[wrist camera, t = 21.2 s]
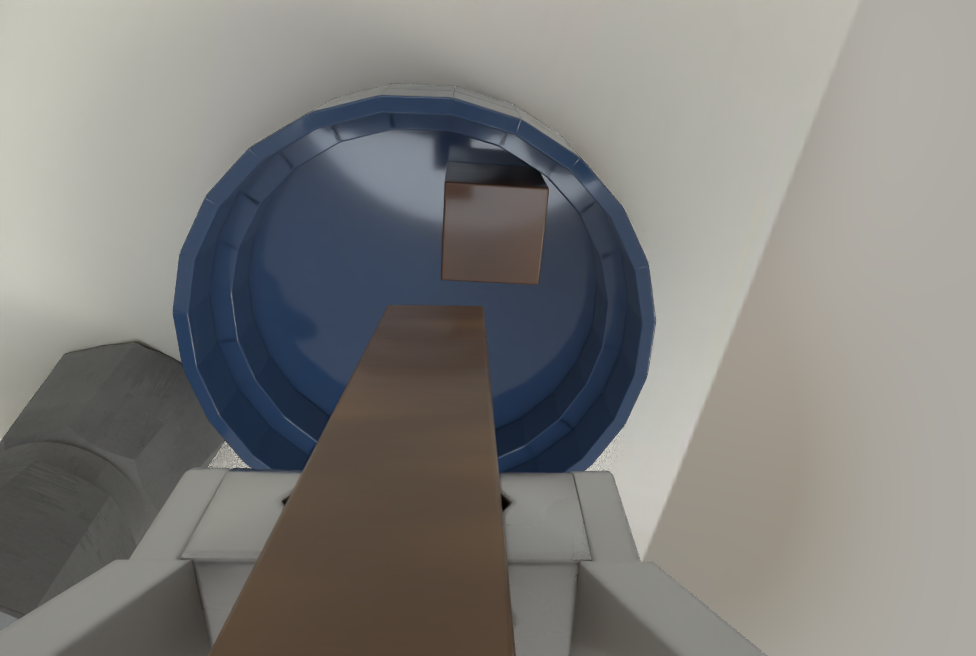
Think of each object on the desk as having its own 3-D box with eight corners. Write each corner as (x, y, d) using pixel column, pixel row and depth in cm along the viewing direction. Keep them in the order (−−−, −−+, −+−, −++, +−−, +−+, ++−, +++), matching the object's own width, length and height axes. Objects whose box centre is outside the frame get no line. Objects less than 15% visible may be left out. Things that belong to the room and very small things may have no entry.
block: (538, 167, 29) (549, 188, 25) (529, 254, 30) (539, 285, 27) (447, 161, 28) (444, 181, 25) (443, 249, 30) (440, 280, 26)
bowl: (650, 90, 28) (690, 105, 23) (601, 460, 36) (623, 530, 31) (191, 74, 27) (130, 86, 22) (247, 457, 35) (211, 528, 30)
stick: (483, 305, 16) (557, 1088, 3) (482, 395, 17) (536, 1393, 3) (386, 304, 16) (-29, 1100, 3) (389, 395, 17) (61, 1408, 3)
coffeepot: (275, 364, 33) (88, 700, 16) (258, 509, 37) (92, 899, 20) (-56, 301, 31) (-640, 613, 15) (-38, 462, 35) (-485, 852, 18)
